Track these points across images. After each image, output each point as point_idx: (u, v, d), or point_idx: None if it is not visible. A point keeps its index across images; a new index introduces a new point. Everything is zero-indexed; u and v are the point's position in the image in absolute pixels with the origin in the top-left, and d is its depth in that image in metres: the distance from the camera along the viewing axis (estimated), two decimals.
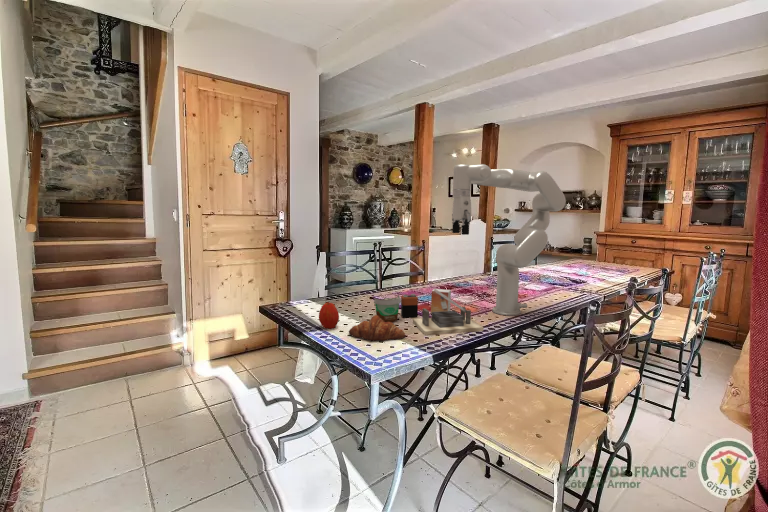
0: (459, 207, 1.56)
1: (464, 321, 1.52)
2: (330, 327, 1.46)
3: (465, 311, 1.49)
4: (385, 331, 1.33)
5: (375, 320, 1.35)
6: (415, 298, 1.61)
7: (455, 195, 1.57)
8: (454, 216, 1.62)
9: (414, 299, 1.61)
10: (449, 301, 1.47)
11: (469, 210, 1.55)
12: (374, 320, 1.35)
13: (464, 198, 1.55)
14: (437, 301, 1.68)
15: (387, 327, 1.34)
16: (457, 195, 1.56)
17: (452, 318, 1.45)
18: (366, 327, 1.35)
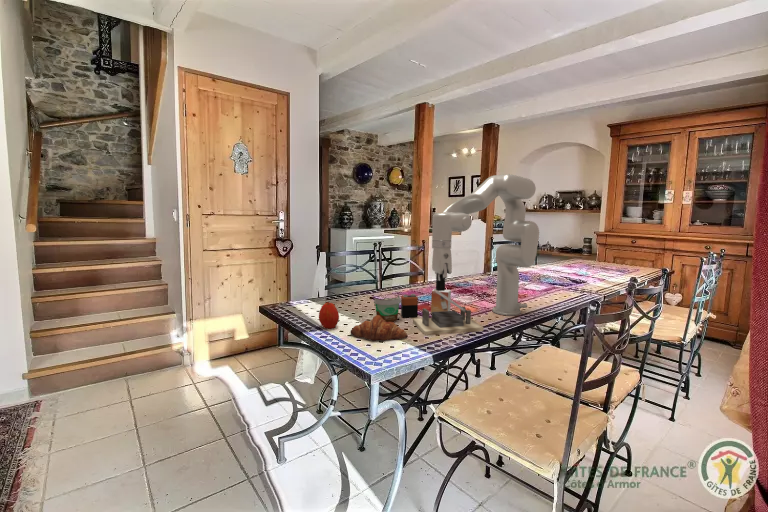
0: (438, 259, 1.42)
1: (464, 321, 1.52)
2: (330, 327, 1.46)
3: (465, 311, 1.49)
4: (386, 331, 1.34)
5: (377, 320, 1.35)
6: (415, 298, 1.61)
7: (434, 246, 1.43)
8: (433, 267, 1.48)
9: (414, 299, 1.61)
10: (449, 301, 1.47)
11: (449, 263, 1.41)
12: (376, 320, 1.35)
13: (444, 250, 1.41)
14: (437, 301, 1.68)
15: (388, 327, 1.34)
16: (436, 247, 1.42)
17: (452, 318, 1.45)
18: (368, 327, 1.35)
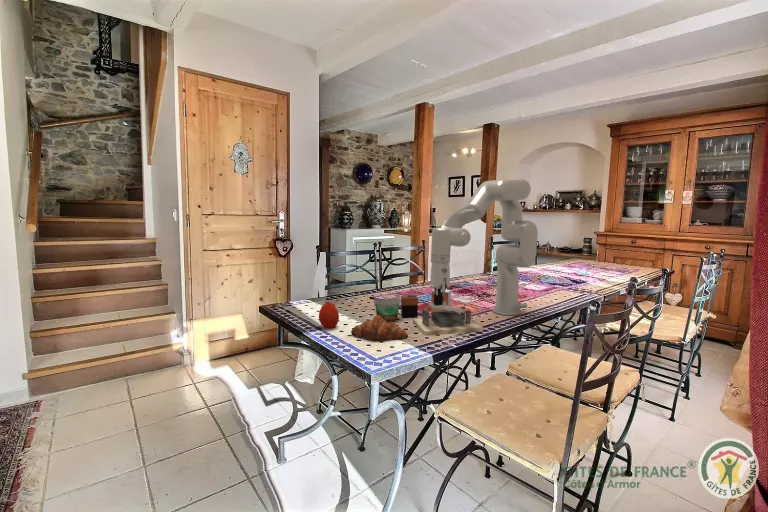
0: (437, 274, 1.43)
1: (464, 321, 1.52)
2: (330, 327, 1.46)
3: (465, 312, 1.49)
4: (387, 331, 1.34)
5: (377, 320, 1.35)
6: (415, 298, 1.61)
7: (433, 261, 1.44)
8: (431, 282, 1.48)
9: (414, 299, 1.61)
10: (446, 309, 1.47)
11: (447, 278, 1.42)
12: (377, 320, 1.35)
13: (442, 265, 1.41)
14: None
15: (389, 327, 1.34)
16: (435, 261, 1.43)
17: (452, 318, 1.45)
18: (369, 327, 1.35)
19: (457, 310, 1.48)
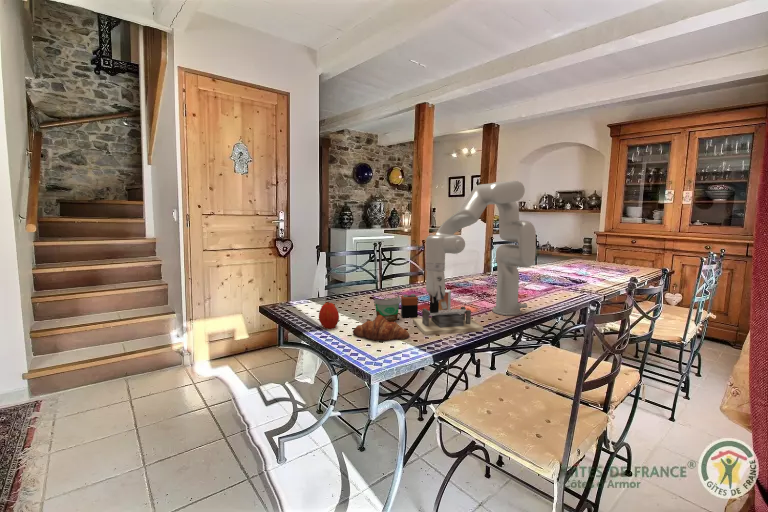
0: (432, 282, 1.43)
1: (464, 321, 1.52)
2: (330, 327, 1.46)
3: (465, 312, 1.49)
4: (389, 331, 1.34)
5: (379, 320, 1.35)
6: (415, 298, 1.61)
7: (428, 269, 1.44)
8: (427, 289, 1.49)
9: (414, 299, 1.61)
10: (445, 314, 1.47)
11: (443, 286, 1.42)
12: (378, 320, 1.35)
13: (437, 273, 1.42)
14: None
15: (390, 327, 1.34)
16: (430, 269, 1.43)
17: (452, 318, 1.45)
18: (370, 327, 1.35)
19: (457, 312, 1.48)
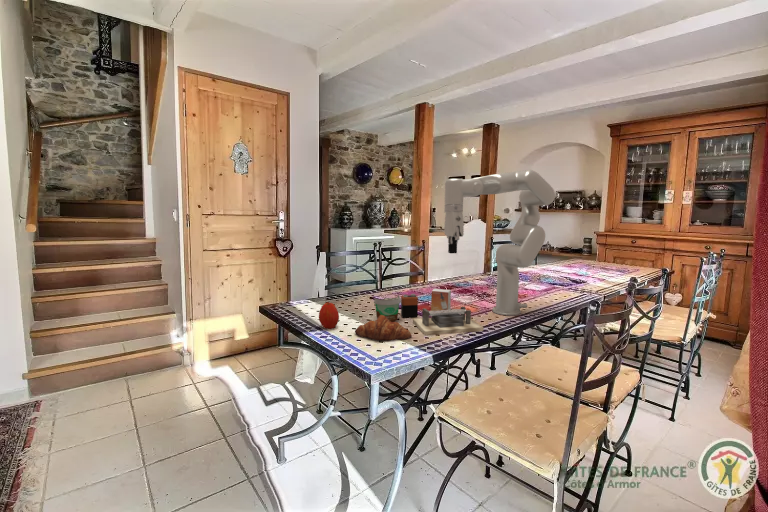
0: (451, 222, 1.50)
1: (464, 321, 1.52)
2: (330, 327, 1.46)
3: (465, 312, 1.49)
4: (391, 331, 1.34)
5: (381, 320, 1.35)
6: (415, 298, 1.61)
7: (447, 210, 1.51)
8: (446, 231, 1.56)
9: (414, 299, 1.61)
10: (445, 314, 1.47)
11: (461, 226, 1.49)
12: (380, 320, 1.35)
13: (456, 214, 1.49)
14: (437, 301, 1.68)
15: (392, 327, 1.34)
16: (449, 210, 1.50)
17: (452, 318, 1.45)
18: (372, 327, 1.35)
19: (457, 312, 1.48)
